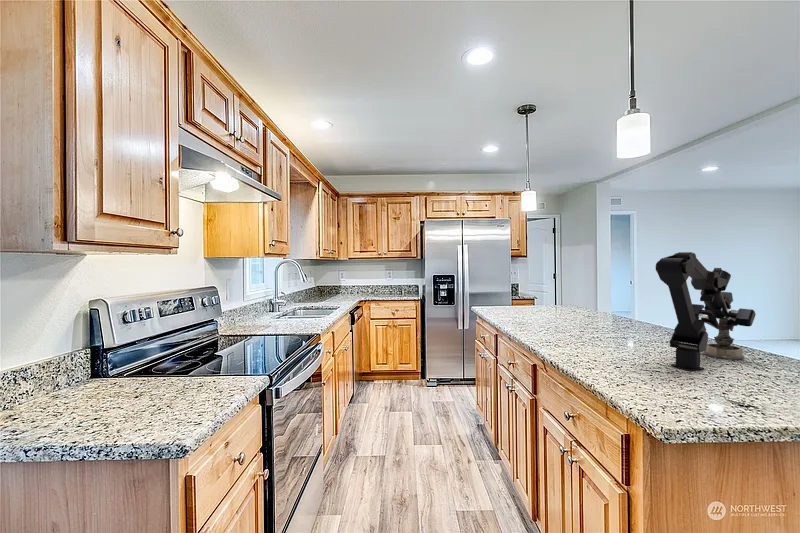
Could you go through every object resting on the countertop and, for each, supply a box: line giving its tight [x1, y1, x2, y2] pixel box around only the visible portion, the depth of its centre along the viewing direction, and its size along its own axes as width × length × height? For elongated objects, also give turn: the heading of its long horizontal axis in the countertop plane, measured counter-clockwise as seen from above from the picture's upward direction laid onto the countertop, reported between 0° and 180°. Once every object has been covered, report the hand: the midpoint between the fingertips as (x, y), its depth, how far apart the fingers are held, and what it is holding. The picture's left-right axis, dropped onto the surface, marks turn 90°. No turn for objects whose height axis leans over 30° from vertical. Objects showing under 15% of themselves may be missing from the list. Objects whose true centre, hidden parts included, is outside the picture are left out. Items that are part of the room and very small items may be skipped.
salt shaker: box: [713, 319, 735, 349], centre depth 144 cm, size 6×6×12 cm
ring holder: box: [702, 342, 745, 361], centre depth 144 cm, size 12×12×3 cm
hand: (725, 329), depth 144 cm, fingers closed on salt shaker, 4 cm apart
